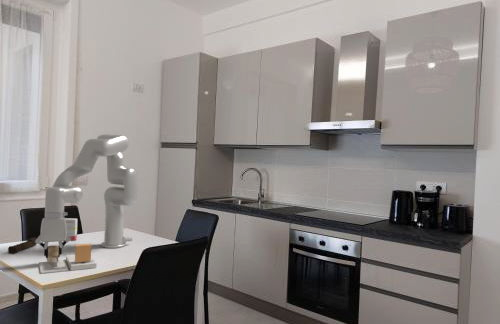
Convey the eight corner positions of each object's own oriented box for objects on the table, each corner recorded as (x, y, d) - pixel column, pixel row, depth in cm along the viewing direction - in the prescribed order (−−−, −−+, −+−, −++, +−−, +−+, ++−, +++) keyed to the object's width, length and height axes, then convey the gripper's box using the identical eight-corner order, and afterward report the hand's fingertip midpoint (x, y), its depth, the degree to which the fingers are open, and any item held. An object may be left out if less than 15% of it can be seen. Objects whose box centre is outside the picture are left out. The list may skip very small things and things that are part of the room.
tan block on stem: (57, 258, 170) (57, 245, 170) (59, 266, 158) (60, 252, 158) (46, 259, 167) (47, 245, 167) (49, 267, 156) (49, 253, 155)
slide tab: (89, 259, 167) (90, 243, 167) (90, 261, 164) (91, 245, 164) (74, 260, 163) (75, 244, 163) (75, 262, 161) (76, 246, 161)
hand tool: (15, 254, 178) (15, 244, 178) (7, 254, 178) (7, 244, 178) (41, 245, 197) (41, 236, 197) (34, 245, 197) (34, 236, 197)
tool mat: (64, 261, 171) (64, 259, 171) (68, 270, 157) (68, 269, 157) (38, 263, 165) (38, 262, 165) (40, 273, 152) (40, 272, 152)
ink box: (77, 238, 215) (78, 218, 214) (74, 240, 210) (75, 219, 210) (60, 238, 213) (61, 217, 213) (58, 240, 208) (59, 219, 208)
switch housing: (89, 257, 178) (89, 253, 178) (96, 267, 163) (96, 263, 163) (66, 259, 173) (66, 255, 173) (70, 270, 158) (71, 265, 158)
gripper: (74, 213, 173) (72, 253, 173) (32, 214, 164) (30, 256, 164) (76, 215, 167) (74, 257, 167) (32, 217, 158) (31, 261, 158)
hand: (52, 256), depth 166 cm, fingers closed on tan block on stem, 4 cm apart
